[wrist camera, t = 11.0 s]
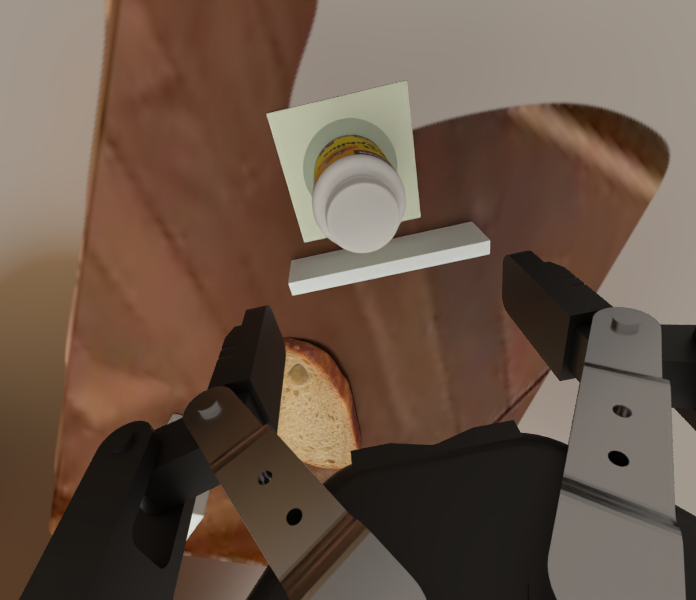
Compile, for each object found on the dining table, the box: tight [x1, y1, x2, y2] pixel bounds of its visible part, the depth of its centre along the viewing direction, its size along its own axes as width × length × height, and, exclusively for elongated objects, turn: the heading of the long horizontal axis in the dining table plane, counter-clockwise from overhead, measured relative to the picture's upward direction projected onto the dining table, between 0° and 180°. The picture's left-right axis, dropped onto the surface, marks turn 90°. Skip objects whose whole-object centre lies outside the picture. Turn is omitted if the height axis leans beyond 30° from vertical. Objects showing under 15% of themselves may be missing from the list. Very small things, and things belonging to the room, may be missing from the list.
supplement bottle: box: [312, 135, 406, 253], centre depth 24 cm, size 6×6×10 cm
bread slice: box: [277, 337, 361, 469], centre depth 42 cm, size 18×18×4 cm
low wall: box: [288, 222, 490, 296], centre depth 30 cm, size 1×16×4 cm, turn 102°
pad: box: [267, 80, 421, 243], centre depth 28 cm, size 10×10×1 cm
